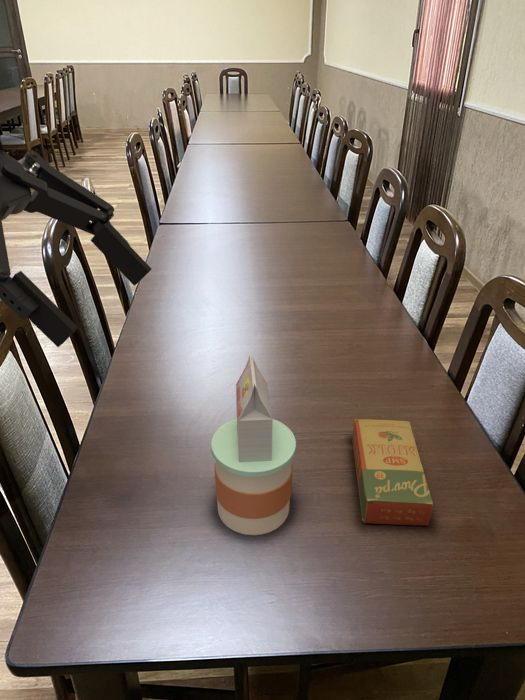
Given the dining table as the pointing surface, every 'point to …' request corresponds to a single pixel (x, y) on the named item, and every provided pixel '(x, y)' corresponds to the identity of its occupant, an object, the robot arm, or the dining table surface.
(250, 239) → the dining table surface
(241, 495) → the coffee cup
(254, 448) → the paper tea packet
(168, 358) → the dining table surface
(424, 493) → the carton
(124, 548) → the dining table surface
